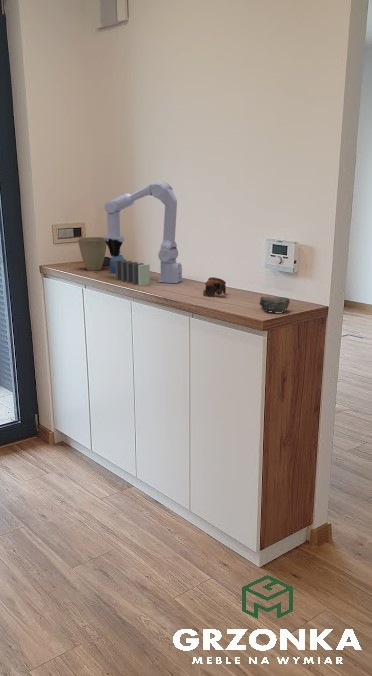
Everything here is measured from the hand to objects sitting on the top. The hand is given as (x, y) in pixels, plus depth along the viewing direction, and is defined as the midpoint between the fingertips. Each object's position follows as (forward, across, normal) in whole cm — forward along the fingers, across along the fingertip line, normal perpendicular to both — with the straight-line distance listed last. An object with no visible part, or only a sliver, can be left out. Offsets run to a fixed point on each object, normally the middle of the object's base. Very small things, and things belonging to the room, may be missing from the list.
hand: (114, 256), depth 277 cm
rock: (+11, +95, +7) cm, 96 cm away
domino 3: (+10, +15, 0) cm, 18 cm away
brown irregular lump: (+11, +61, +10) cm, 63 cm away
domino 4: (+10, +19, 0) cm, 22 cm away
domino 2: (+10, +10, 0) cm, 14 cm away
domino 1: (+10, +6, 0) cm, 12 cm away
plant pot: (+11, -29, +5) cm, 31 cm away
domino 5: (+10, +24, 0) cm, 26 cm away
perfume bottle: (+11, -13, +10) cm, 19 cm away
